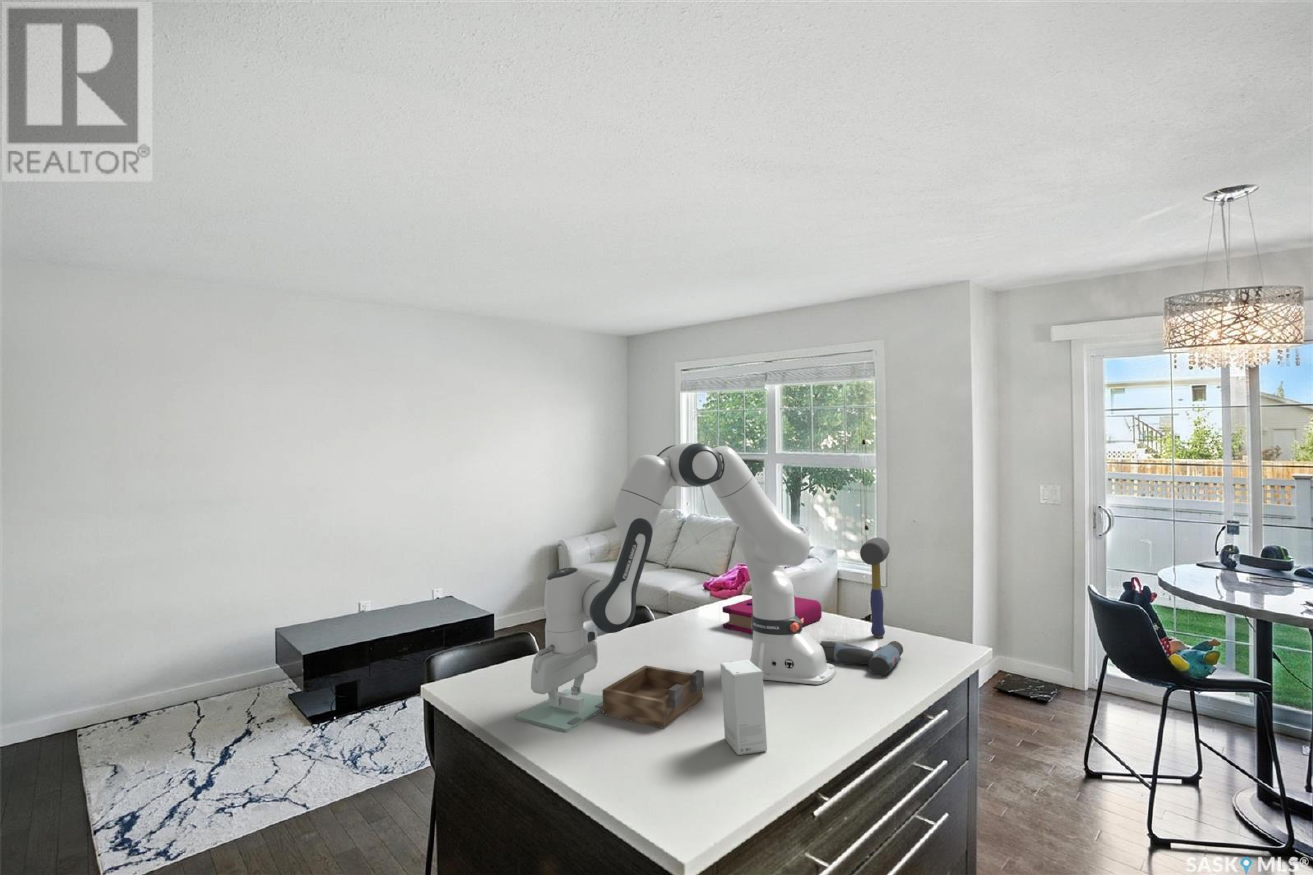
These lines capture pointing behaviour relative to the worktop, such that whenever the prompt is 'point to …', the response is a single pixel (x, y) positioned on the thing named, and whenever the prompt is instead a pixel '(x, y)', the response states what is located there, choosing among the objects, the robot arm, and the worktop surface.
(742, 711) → the skincare box
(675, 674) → the wooden crate tray
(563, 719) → the green lid with handle
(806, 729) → the worktop surface
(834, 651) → the power drill
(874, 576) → the rubber mallet
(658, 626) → the worktop surface
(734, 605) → the book
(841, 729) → the worktop surface
